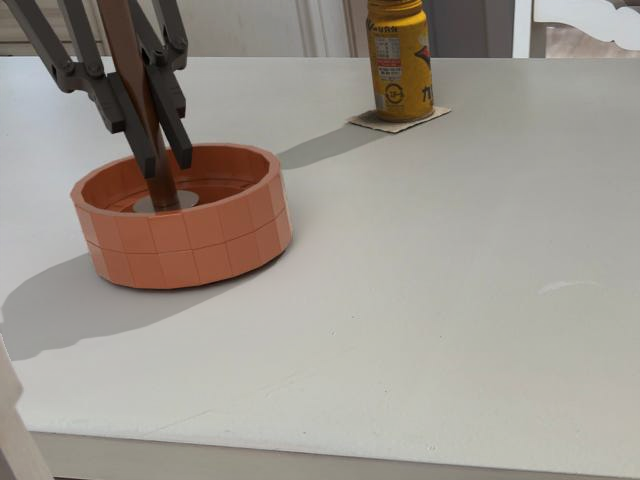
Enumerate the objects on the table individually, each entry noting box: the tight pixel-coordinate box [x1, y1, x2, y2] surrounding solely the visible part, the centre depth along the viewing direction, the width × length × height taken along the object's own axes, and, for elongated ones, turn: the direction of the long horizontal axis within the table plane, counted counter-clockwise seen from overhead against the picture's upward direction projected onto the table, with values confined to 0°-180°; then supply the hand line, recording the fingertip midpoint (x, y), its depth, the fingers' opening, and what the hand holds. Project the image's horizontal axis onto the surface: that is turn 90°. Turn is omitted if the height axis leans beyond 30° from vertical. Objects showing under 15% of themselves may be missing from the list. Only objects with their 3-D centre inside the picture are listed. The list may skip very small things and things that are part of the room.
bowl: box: [69, 142, 294, 290], centre depth 79 cm, size 16×16×6 cm
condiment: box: [344, 0, 452, 133], centre depth 101 cm, size 7×8×12 cm
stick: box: [95, 0, 201, 213], centre depth 72 cm, size 5×5×16 cm
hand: (168, 162), depth 71 cm, fingers closed on stick, 2 cm apart
